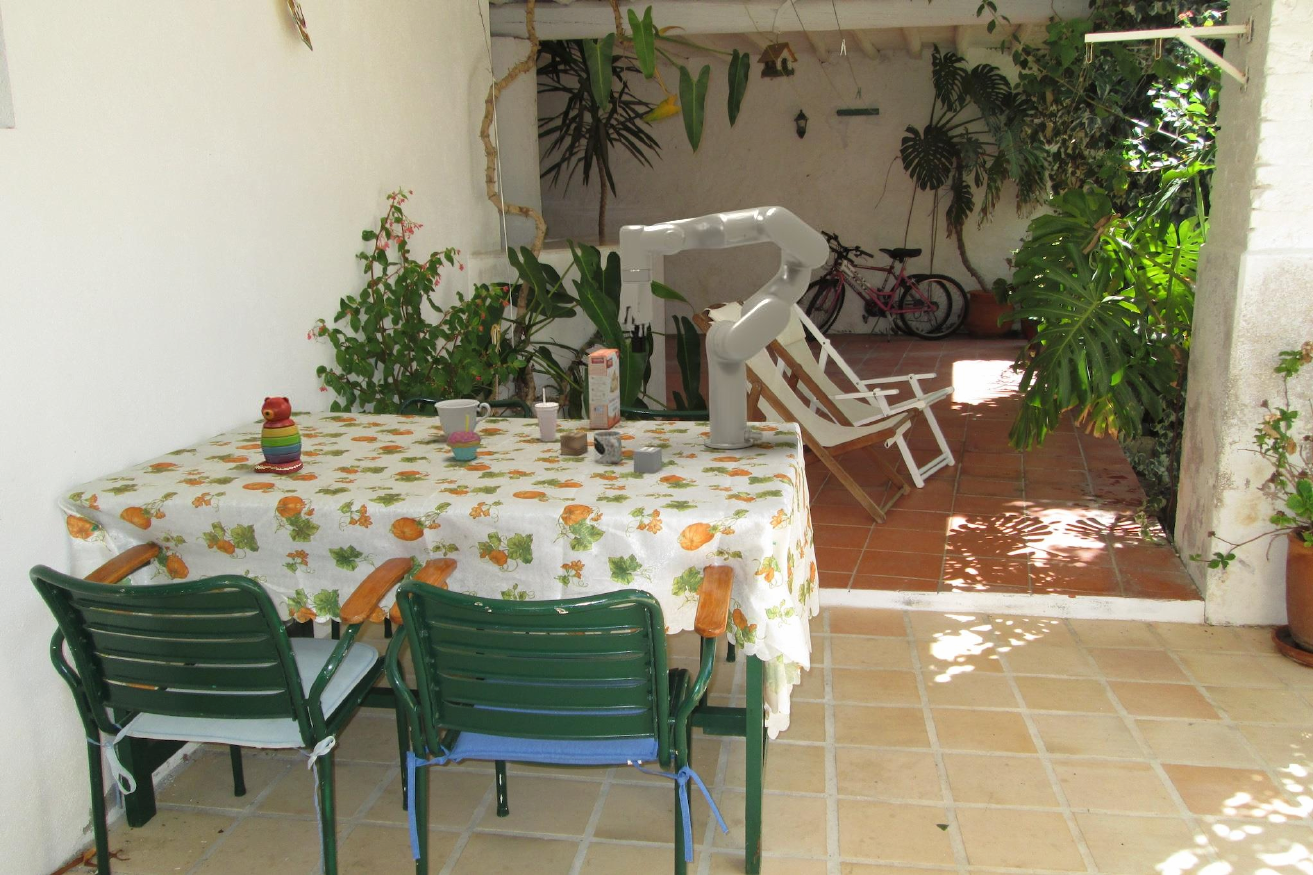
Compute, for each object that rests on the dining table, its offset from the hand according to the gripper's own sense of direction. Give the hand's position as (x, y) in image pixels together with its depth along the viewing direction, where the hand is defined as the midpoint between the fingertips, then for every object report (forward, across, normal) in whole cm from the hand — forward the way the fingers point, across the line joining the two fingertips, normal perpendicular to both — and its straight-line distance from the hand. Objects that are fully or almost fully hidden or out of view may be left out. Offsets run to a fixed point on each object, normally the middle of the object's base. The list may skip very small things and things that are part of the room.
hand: (639, 352), depth 258 cm
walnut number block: (+25, +6, -16) cm, 30 cm away
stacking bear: (+25, +41, -78) cm, 92 cm away
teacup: (+25, -1, -53) cm, 59 cm away
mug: (+25, +12, -3) cm, 28 cm away
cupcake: (+25, +19, -40) cm, 51 cm away
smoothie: (+25, -6, -30) cm, 40 cm away
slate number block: (+25, +17, +9) cm, 32 cm away
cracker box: (+25, -29, -24) cm, 45 cm away
